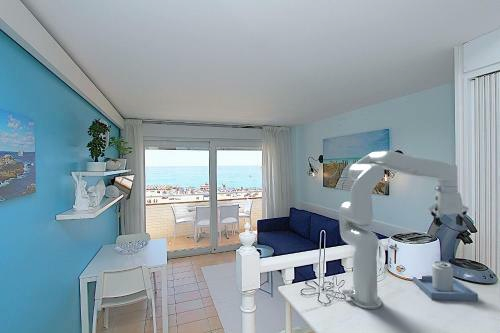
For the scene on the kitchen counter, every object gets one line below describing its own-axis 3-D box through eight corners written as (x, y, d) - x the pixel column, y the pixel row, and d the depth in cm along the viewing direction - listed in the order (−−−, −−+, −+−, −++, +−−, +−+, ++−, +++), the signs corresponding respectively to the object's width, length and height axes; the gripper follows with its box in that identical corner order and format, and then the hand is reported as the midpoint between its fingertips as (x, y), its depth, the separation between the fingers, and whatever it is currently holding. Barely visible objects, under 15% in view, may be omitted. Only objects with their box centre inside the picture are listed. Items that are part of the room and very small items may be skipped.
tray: (431, 299, 104) (431, 292, 104) (411, 281, 120) (411, 275, 119) (477, 301, 102) (477, 294, 101) (451, 281, 117) (450, 275, 117)
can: (457, 294, 106) (456, 267, 106) (438, 293, 107) (437, 266, 107) (446, 285, 113) (446, 260, 113) (429, 284, 115) (428, 259, 114)
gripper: (432, 191, 112) (433, 227, 112) (473, 190, 110) (474, 227, 110) (423, 189, 119) (423, 223, 120) (461, 188, 117) (462, 222, 118)
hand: (448, 225), depth 115 cm, fingers open, 9 cm apart
